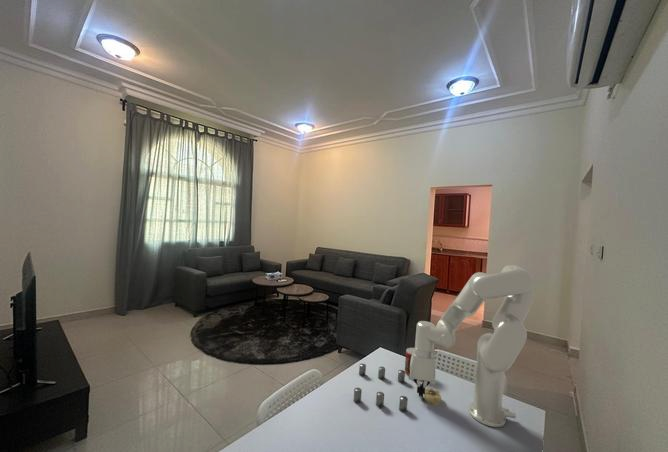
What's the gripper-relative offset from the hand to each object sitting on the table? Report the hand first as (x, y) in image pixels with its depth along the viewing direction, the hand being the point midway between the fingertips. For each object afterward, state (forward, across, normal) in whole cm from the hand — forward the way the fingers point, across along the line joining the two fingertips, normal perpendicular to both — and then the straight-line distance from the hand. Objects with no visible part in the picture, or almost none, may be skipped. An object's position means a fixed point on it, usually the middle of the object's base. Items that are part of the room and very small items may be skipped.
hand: (420, 394), depth 118 cm
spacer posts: (+1, +17, 0) cm, 17 cm away
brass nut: (+1, -5, 0) cm, 5 cm away
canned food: (+1, +2, -19) cm, 19 cm away
